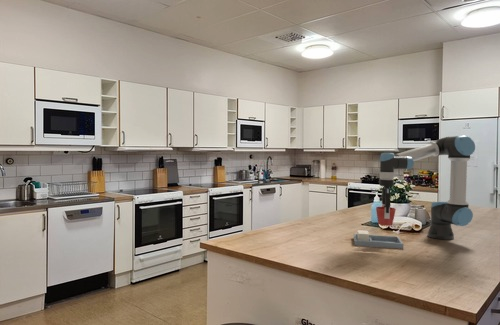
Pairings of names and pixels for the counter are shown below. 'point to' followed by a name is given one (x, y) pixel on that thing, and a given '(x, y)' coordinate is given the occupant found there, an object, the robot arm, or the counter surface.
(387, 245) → the grey tray
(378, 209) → the flower pot
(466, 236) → the counter surface
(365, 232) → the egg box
